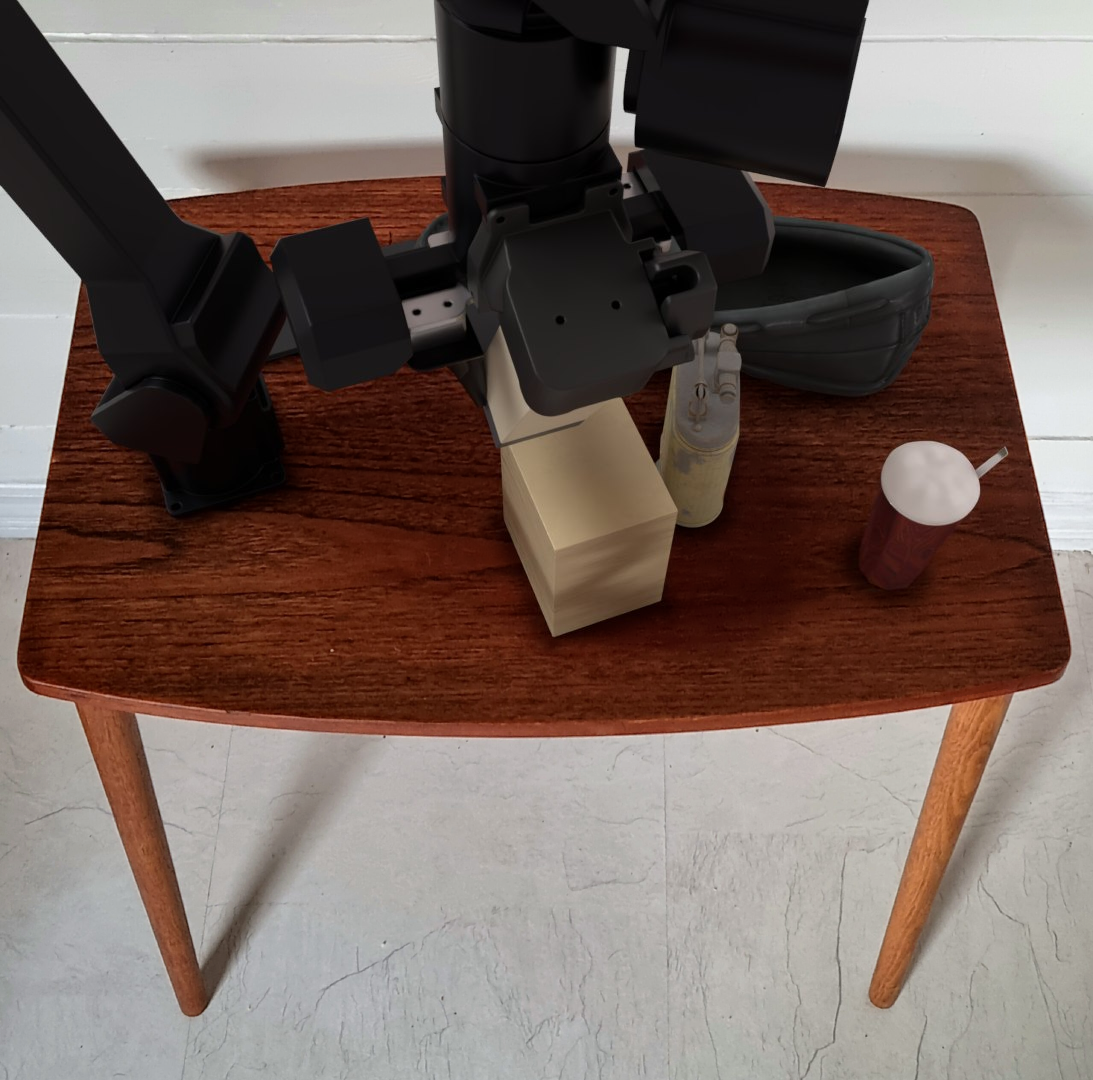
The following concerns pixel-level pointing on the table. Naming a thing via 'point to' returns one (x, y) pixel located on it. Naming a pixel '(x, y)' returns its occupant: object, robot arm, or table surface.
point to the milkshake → (917, 509)
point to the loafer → (822, 306)
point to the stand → (589, 519)
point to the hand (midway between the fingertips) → (524, 386)
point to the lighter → (702, 428)
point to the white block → (512, 390)
